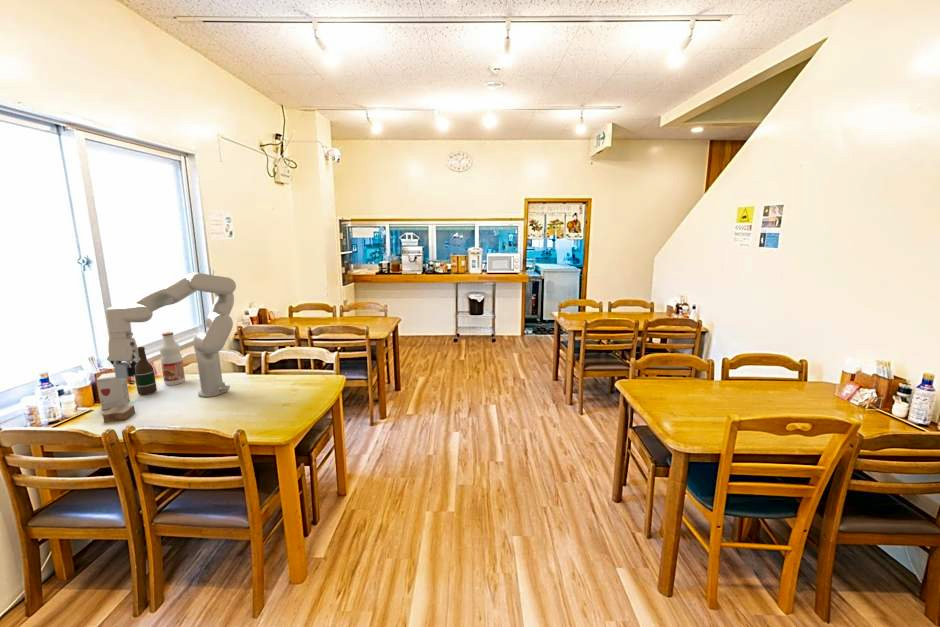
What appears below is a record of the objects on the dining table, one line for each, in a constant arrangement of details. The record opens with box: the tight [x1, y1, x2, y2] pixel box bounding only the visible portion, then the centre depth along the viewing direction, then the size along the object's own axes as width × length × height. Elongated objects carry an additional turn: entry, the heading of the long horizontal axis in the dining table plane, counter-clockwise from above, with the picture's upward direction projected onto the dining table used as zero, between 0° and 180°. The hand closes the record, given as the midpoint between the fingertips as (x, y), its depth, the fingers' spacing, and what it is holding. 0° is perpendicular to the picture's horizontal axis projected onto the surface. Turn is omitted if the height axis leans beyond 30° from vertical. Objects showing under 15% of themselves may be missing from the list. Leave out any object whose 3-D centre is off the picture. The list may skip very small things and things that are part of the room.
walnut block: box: [102, 404, 136, 424], centre depth 184 cm, size 8×8×4 cm
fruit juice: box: [159, 331, 186, 386], centre depth 227 cm, size 9×9×28 cm
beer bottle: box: [134, 346, 158, 396], centre depth 212 cm, size 8×8×24 cm
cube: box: [113, 361, 136, 379], centre depth 184 cm, size 5×5×6 cm
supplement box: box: [96, 372, 131, 410], centre depth 198 cm, size 9×9×15 cm
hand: (125, 375), depth 185 cm, fingers closed on cube, 5 cm apart
